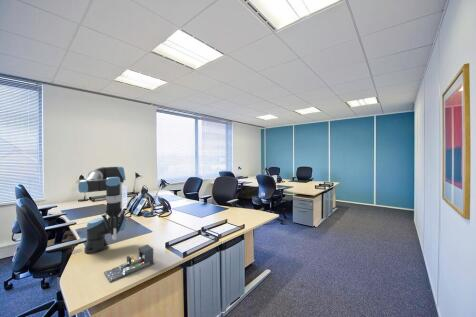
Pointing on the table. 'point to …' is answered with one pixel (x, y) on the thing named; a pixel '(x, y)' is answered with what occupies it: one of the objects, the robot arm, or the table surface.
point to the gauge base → (126, 269)
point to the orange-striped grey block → (134, 260)
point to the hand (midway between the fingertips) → (114, 239)
